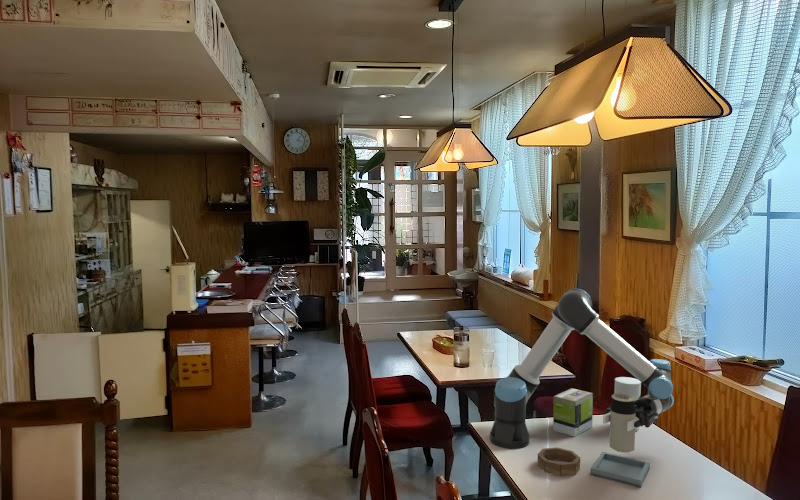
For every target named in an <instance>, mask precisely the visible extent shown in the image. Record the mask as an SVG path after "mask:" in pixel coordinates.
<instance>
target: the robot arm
mask: <svg viewBox="0 0 800 500" xmlns="http://www.w3.org/2000/svg"><path fill="white" fill-rule="evenodd" d="M551 316H552V318H551V320H550V321H549V323H548V324H547V326H546V327H545V328H544V330H543V331H542V333H541V334H540V336H539V337H538V339H537V340H536V341H535V343H534V345H533V346H532V348H531V349H530V350H529V352H528V353H527V355H526V357H524V359H523V361H522V362H521V364H517V365H515V366H514V367H513V368H512V370H511V372H510V373H509V374H508V375H507V376H506V377H503V378H499V380H497V381H496V383H495V388H494V393H495V394H494V395H495V396H494V397H495V398H494V421H493V424H492V427H491V430H490V431H489V432H490V433H489V441H490V442H491V443H492V444H493V445H495V446H497V447H501V448H506V449H520V448H525V447H527V446H528V445H529V444H530V433H529V430H528V427H527V424H526V412H527V411H526V409H527V403H528V401H529V400H530V398H531V396H532V395H533V394H534V393H535V390H536V389H537V388H538V387H539V384H541V382H540V376H541V375H542V373H543V372H544V370H546V368H547V366H548V365H549V364H550V362H551V361H552V359H553V358H554V357H555V355H556V353H557V352H558V351H559V349H560V348H561V346H562V345H563V343H564V342H565V341H566V339H567V338H568V336H569V335H570V334H571V332H572V331H576V332H578V334H580V335H585V336H586V337H587V338H589V340H591V342H594V344H596V345H597V346H598V347H600V349H602V350H603V351H604V352H606V354H607V355H609V356H610V357H611V358H613V359H614V361H615V362H617V363H618V364H619V365H620V366H622V367H623V369H624V370H626V371H627V372H628V373H630V374H631V375H632V376H633V378H635V379H638V380H639V381H640V382H641V384H642V385H644V386H645V387H646V388H647V394H646V395H644V396H642V397H640V399H638V400H636V401H635V402H634V405H635V407H636V415H635V417H637V418H635V419H633V420H631V421H629V422H627V431H630V430H632V429H634V428H636V427H639V428H640V427H643V426H644V427H645V428H648V429H649V428H650V427H651V426H652V425H653V424H654V423H655V422H657V421H659V419H658V418H659V415H660V414H663V413H664V412H667V411H668V410H670V408H672V406H673V405H674V401H675V399H674V396H673V395H672V394H673V390H674V384H673V381H672V376H671V372H672V369H671V366H672V364H671V362H670V361H669V360H667V359H660V358H659V359H658V358H652V359H650V360H648V359H647V358H646V357H645V356H644V355H642V354H641V353H640V352H639V351H637V350H636V349H635V348H634V347H633V346H632V345H631V344H629V343H628V342H627V341H626V340H625V339H624V338H623V337H621V336H620V335H619V334H618V333H617V332H616V331H614V330H613V329H612V328H610V326H608V325H607V324H606V323H604V321H602V320H601V319H600V315H599V314H598V313H597V312H596V311H595V310H594V309H593V300H592V298H591V295H589V293H587V291H585V290H584V289H582V288H581V289H580V288H571V289H568V290H566V291H565V292H564V293H563V294H562V296H561V297H560V298H559V301H558V303H557V304H556V306H554V308H553V310H552V311H551ZM605 411H606V412H605V414H604V415H602V424H604V425H605V424H608V423H610V411H611V406H610V407H607V408H606V409H605Z"/></svg>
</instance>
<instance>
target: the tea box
mask: <svg viewBox="0 0 800 500" xmlns="http://www.w3.org/2000/svg"><path fill="white" fill-rule="evenodd" d="M593 394H594V393H593V392H590V391H585V390H581V389H576V388H572V387H571V388H569V389H567V390H565V391H562V392H560V393H557V394H556V395H554V396H553V410H552V411H553V416H552V418H553V420H552V424H553V425H552V426H553V427H552V429H553V431H554V432H558V433H561V434H564V435H568V436H571V437H577V436H579V435H580V434H582V433H583V432H586V431H587V430H589V429H591V428H593V416H594V414H593V409H594V407H593V406H594V405H593V404H594V403H593V402H594V401H593V397H594V395H593Z"/></svg>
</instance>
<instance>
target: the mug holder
mask: <svg viewBox="0 0 800 500" xmlns="http://www.w3.org/2000/svg"><path fill="white" fill-rule="evenodd" d="M555 460H556V461H555ZM557 461H561V462H557ZM536 465H537V466H538V467H539V468H540V470H541V471H542V472H544V473H546V474H551V475H555V476H559V477H568V476H575V475H577V473H578V472H579V471H580V470H581V456H579V455H578V454H576V453H575V452H574V451H573V450H571V449H570V450H569V449H565V448H561V447H548V448H547V447H545V448H542V449H541V450H540V451H539V452H538V453H537V464H536Z"/></svg>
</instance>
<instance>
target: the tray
mask: <svg viewBox="0 0 800 500" xmlns="http://www.w3.org/2000/svg"><path fill="white" fill-rule="evenodd" d="M650 464H651V463H650V462H649V461H645V460H641V459H636V458H633V457H627V456H622V455H618V454H615V453H610V452H606V451H601V453H600V455H599V456H598V457H597V459H596V460H595V462H594V463H593V464H592V465H591V467H590V476H593V477H597V478H601V479H605V480H609V481H614V482H617V483H621V484H624V485H630V486H633V487H636V488H640V489H641V488H642V486H643V484H644V482H645V479H646V477H647V475H648V473H649V472H650V467H651V465H650Z"/></svg>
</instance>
